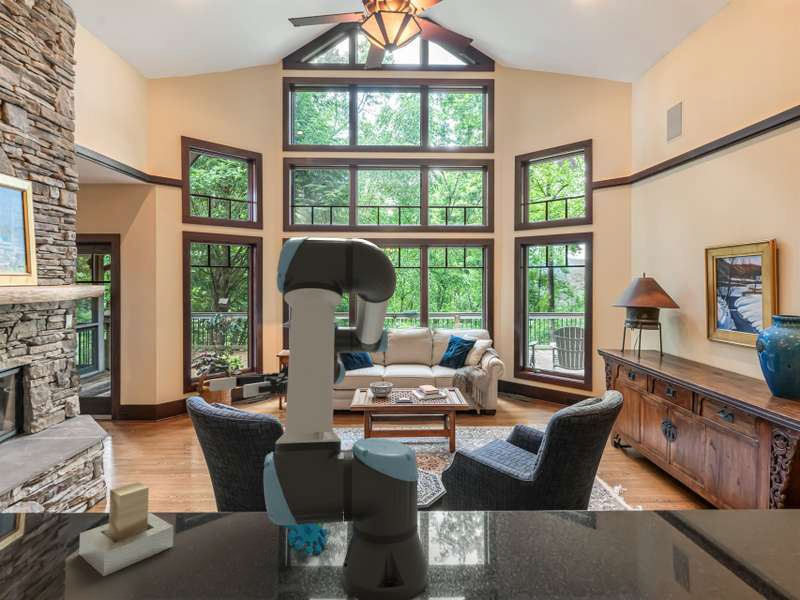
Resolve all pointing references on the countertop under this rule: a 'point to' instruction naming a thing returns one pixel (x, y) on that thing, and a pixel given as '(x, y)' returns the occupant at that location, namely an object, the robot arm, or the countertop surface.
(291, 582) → the countertop surface
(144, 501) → the upright pine post
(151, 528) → the grey square frame block
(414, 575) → the robot arm
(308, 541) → the blue lumpy piece
